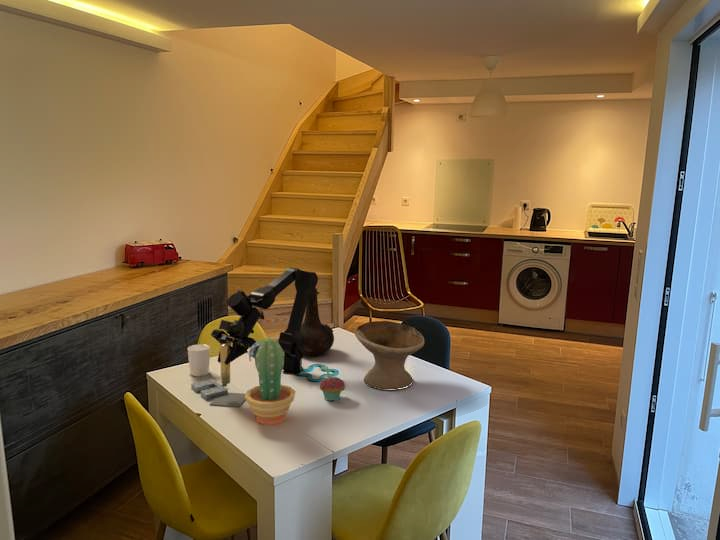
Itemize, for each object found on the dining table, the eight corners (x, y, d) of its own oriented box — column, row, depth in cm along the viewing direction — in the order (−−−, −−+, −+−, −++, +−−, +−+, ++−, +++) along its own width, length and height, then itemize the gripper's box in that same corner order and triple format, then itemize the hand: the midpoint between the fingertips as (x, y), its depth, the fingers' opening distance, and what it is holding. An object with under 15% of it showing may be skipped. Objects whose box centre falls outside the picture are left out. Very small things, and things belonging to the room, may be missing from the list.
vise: (218, 382, 189) (218, 377, 189) (234, 393, 180) (234, 388, 179) (191, 388, 183) (191, 383, 182) (206, 400, 173) (206, 395, 173)
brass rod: (230, 380, 175) (229, 343, 173) (230, 383, 172) (229, 345, 170) (221, 380, 175) (220, 343, 173) (220, 384, 172) (219, 346, 170)
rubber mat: (249, 395, 178) (249, 393, 178) (239, 407, 168) (239, 406, 168) (221, 393, 179) (221, 392, 179) (209, 405, 169) (209, 404, 169)
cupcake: (325, 405, 171) (325, 370, 170) (315, 395, 179) (315, 361, 177) (348, 400, 175) (349, 366, 173) (338, 391, 183) (338, 358, 181)
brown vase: (336, 358, 217) (337, 292, 213) (293, 360, 213) (293, 293, 209) (330, 345, 234) (330, 283, 230) (289, 347, 231) (289, 284, 226)
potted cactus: (275, 403, 172) (275, 329, 168) (306, 418, 161) (306, 340, 157) (235, 417, 161) (233, 339, 157) (265, 434, 150) (264, 351, 146)
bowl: (369, 399, 177) (370, 342, 173) (343, 374, 200) (344, 323, 196) (436, 390, 186) (438, 335, 183) (404, 366, 209) (406, 318, 206)
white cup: (204, 377, 193) (203, 351, 191) (184, 375, 195) (183, 349, 193) (214, 370, 201) (213, 345, 199) (195, 368, 202) (194, 343, 201)
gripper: (214, 306, 178) (188, 345, 171) (253, 314, 168) (227, 356, 161) (232, 323, 186) (208, 361, 179) (271, 332, 175) (247, 373, 168)
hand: (222, 363), depth 171 cm, fingers closed on brass rod, 3 cm apart
